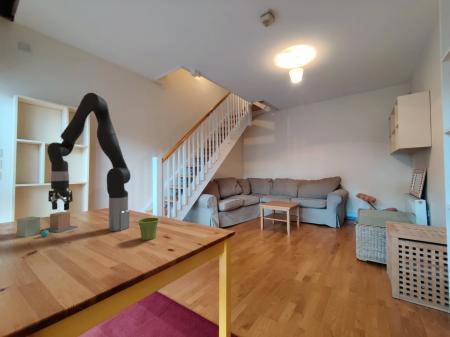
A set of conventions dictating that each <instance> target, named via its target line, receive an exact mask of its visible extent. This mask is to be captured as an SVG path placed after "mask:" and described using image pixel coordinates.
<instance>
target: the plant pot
mask: <svg viewBox="0 0 450 337" xmlns="http://www.w3.org/2000/svg"><path fill="white" fill-rule="evenodd" d="M159 221H160V218H158V217H145V218H140V219H138V220H137V223H138V226H139V230H140V237H141V239H142V241H149V240H154V239H156V237H157V235H156V234H157V230H158V223H159Z"/></svg>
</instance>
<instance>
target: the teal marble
mask: <svg viewBox="0 0 450 337" xmlns="http://www.w3.org/2000/svg"><path fill="white" fill-rule="evenodd" d="M49 234H50V232H49V231H47V230H44V231H40V236H41V237H43V238H45V237H48V236H49Z"/></svg>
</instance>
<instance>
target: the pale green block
mask: <svg viewBox="0 0 450 337" xmlns="http://www.w3.org/2000/svg"><path fill="white" fill-rule="evenodd" d="M39 234H41V216H28V217H27V216H26V217H22V218H18V219H16V236H17V237H22V238H27V237H31V236H34V235H39Z"/></svg>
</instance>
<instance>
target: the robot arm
mask: <svg viewBox="0 0 450 337" xmlns="http://www.w3.org/2000/svg"><path fill="white" fill-rule="evenodd" d="M92 112H93V115H95V118H96V122H97V130H96V138H97V141H98V144H99V147H100V149H101V150H102V152H103V153H104V154H105V156H106V157H107V158H108V159H109V161H110V163H111V165H112V168H111V169H108V171H107V174H106V191H107V194H108V230H109V231H110V232H119V231H121V232H122V231H124V230H127V229H129V228H130V210H129V192H128V191H127V189H125V184H128V183H129V182H130V180H131V171H130V170H129V166H128V165H127V162H126V161H125V158H124V155H123V152H122V150H121V146H120V143H119V139H118V137H117V133H116V131H115V128H114V125H113V123H112V122H113V121H112V119H111V115H110V110H109V105H108V102H107V101H106V99H104V98H103V97H101V96H99V95H98V94H97V93H95V92H87V93H86V94H85V95H84V96H83V97H82V99H81V101H80V103H79V105H78V107H77V109H76V111H75V112H74V115H73V117H72V119H71V120H70V121H69V123H68V125H67V126H66V127H65V129H63V132H61V134H60V138H61V140H62V141H61V142H52V143H49V144H48V146H47V155H48V156H47V157H48V159H49V161H50V164H51V165H50V167H51V169H50V170H51V171H50V172H51V173H50V189H51V190H48V197H47V198H48V200H47V201H48V202H50V203H51V209H52V211H53V210H54V211H56V210H58V201H59V200H61V201H63V211H69V210H70V203H71V202H73V191H72V190H68V189H69V188H70V175H69V163H68V161H67V160H64V158H63V157H67V156H69V155H70V154H71V153H72V151H73V150H74V147H75V144H76V141H78V139H79V138H80V136H81V135H82V134H83V132H84V130H85V125H86V120H87V118H88V116H89V115H90V114H91V113H92Z"/></svg>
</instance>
